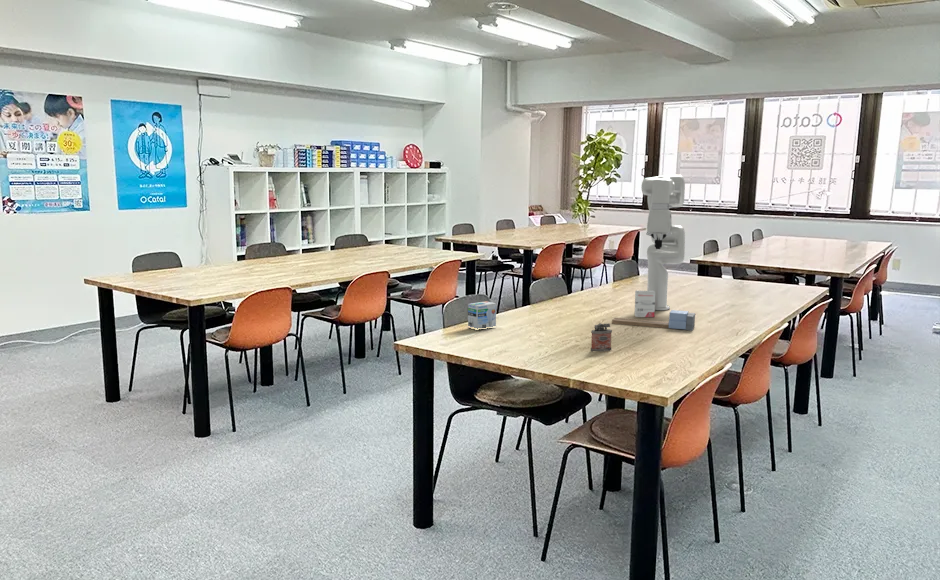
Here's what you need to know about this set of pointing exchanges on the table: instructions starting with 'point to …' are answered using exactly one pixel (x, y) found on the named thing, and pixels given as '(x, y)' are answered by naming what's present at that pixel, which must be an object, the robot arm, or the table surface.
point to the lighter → (601, 338)
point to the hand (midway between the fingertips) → (658, 248)
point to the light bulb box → (482, 314)
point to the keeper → (678, 319)
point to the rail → (655, 322)
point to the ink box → (644, 303)
